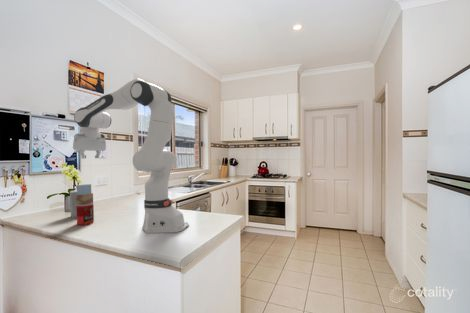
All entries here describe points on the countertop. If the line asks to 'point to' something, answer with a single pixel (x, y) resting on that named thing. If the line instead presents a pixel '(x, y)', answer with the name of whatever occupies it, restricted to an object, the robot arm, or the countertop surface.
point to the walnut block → (84, 199)
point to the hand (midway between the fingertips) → (90, 158)
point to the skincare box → (73, 203)
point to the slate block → (84, 189)
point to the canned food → (85, 214)
